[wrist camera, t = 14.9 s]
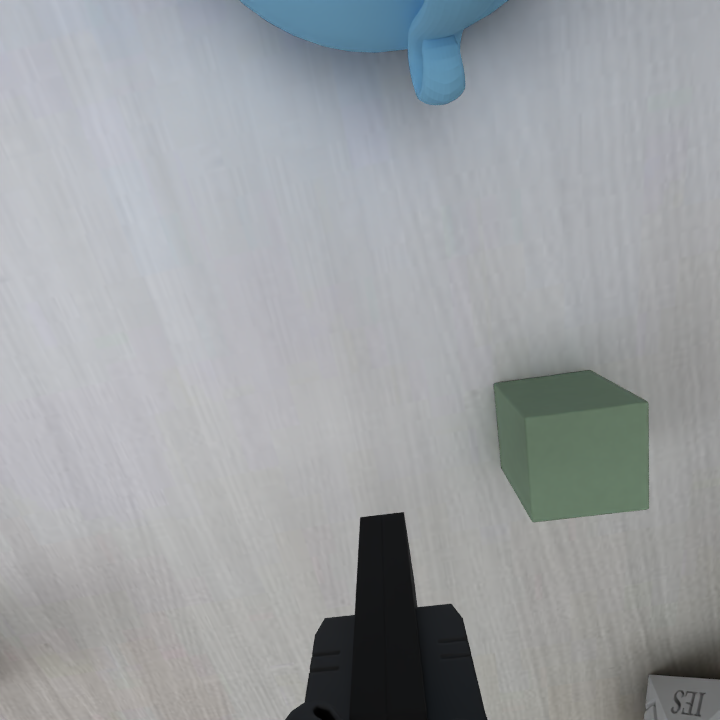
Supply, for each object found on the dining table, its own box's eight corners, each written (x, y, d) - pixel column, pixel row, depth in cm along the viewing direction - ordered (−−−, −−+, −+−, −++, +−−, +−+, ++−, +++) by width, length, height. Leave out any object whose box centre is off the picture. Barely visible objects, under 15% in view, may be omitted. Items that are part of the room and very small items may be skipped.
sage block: (593, 457, 24) (649, 510, 19) (500, 468, 24) (532, 523, 19) (590, 369, 22) (649, 401, 18) (493, 382, 23) (524, 417, 18)
